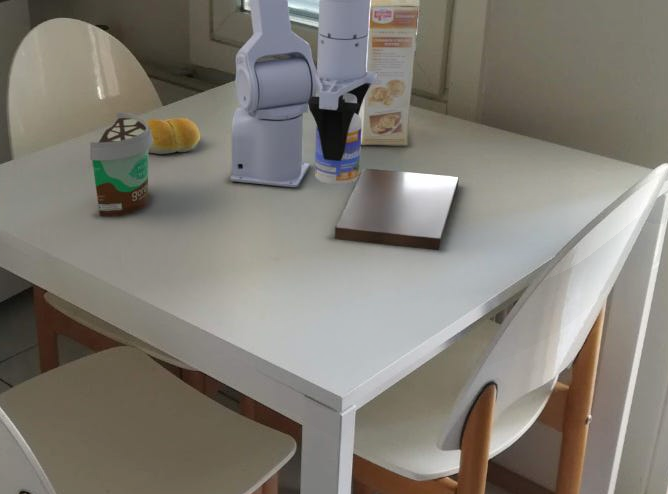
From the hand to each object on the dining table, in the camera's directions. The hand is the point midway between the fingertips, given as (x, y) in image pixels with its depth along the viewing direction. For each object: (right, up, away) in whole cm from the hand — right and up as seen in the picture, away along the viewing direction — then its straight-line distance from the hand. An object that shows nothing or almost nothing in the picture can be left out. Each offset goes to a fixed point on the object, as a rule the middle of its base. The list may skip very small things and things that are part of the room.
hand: (337, 150), depth 133 cm
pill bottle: (0, -3, +2) cm, 4 cm away
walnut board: (+9, -5, +10) cm, 14 cm away
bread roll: (-23, +10, +30) cm, 38 cm away
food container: (-26, -3, +13) cm, 29 cm away
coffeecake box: (+9, +14, +35) cm, 39 cm away
